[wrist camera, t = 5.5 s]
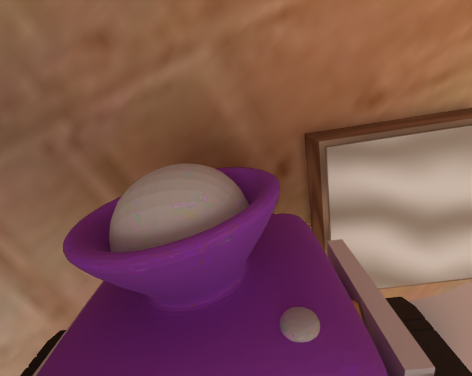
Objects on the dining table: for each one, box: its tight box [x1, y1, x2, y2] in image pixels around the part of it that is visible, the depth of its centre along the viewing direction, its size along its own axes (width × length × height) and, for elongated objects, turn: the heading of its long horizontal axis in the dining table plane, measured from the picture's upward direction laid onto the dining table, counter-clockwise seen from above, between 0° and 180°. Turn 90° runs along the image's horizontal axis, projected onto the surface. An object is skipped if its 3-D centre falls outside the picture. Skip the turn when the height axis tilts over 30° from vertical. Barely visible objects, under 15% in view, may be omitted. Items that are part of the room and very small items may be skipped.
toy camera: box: [36, 163, 388, 376], centre depth 10 cm, size 11×14×10 cm
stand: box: [305, 108, 472, 289], centre depth 26 cm, size 16×16×5 cm
